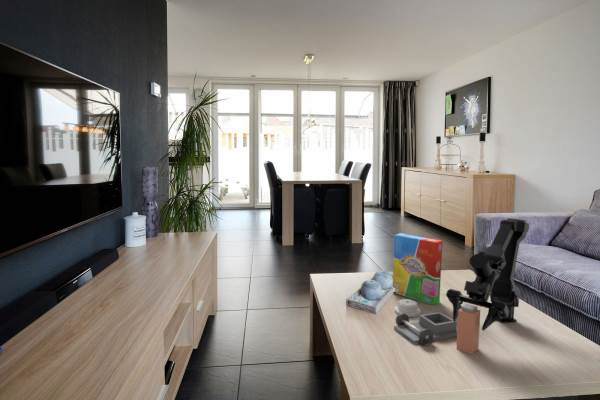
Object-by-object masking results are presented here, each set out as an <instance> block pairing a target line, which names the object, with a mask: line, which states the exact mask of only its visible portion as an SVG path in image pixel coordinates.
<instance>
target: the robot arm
mask: <svg viewBox="0 0 600 400" xmlns="http://www.w3.org/2000/svg"><path fill="white" fill-rule="evenodd" d="M529 229H530V224H529V222H527V220H526V219H521V218H511V217H510V218H509V217H508V218H507V219H501V221H500V223H499V228H498V230H497V232H496V234H495V236H494V238H493V240H492V242H491V245H489V246H488V247H486V248H484V249H483V251H478V253H476V254H473V255H472V256H471V257H469V265H470V267H471V269H472V271H473V273H474V275H475V276H476V277H475V279H474V280H473V281H469V280H465V284H464V289H463V291H464V292H465V291H466V295H467V296H466V295H463V294H462V292H461V291H460V290H457V289H453V288H450V289H448V290H446V294H445V295H446V297H447V299H448V301H449V302H450V303H451V304H452V315H453V316H452V319H453V321H454V322H455V321H456V322H457V321H458V310H459V309H461V307H462V306H463V304H464V303H465V304H469V305H473V306H476V307H483V308H485V309H488V311H487V315H486V317H485V318H484V321H483V324H482V327H481V330H482V331H483V332H484V331H486V329H488V328H489V327H490V326H492V324H493V323H495V322H496V321H498V322H500V323H513V322H517V319H516V318H515V317H514V315H515V308H519V305H520V304H519V303H520V298H519V295H518V293H517V287H516V285H515V282H514V275H515V270H516V265H517V258H518V254H519V249H520V244H521V242H522V241H523V240H524V239H526V237H527V233H528V232H529V231H530V230H529ZM496 271H498V272H499V271H500V272H499V276H498V277H497V274H496ZM489 298H490V301H489Z"/></svg>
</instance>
